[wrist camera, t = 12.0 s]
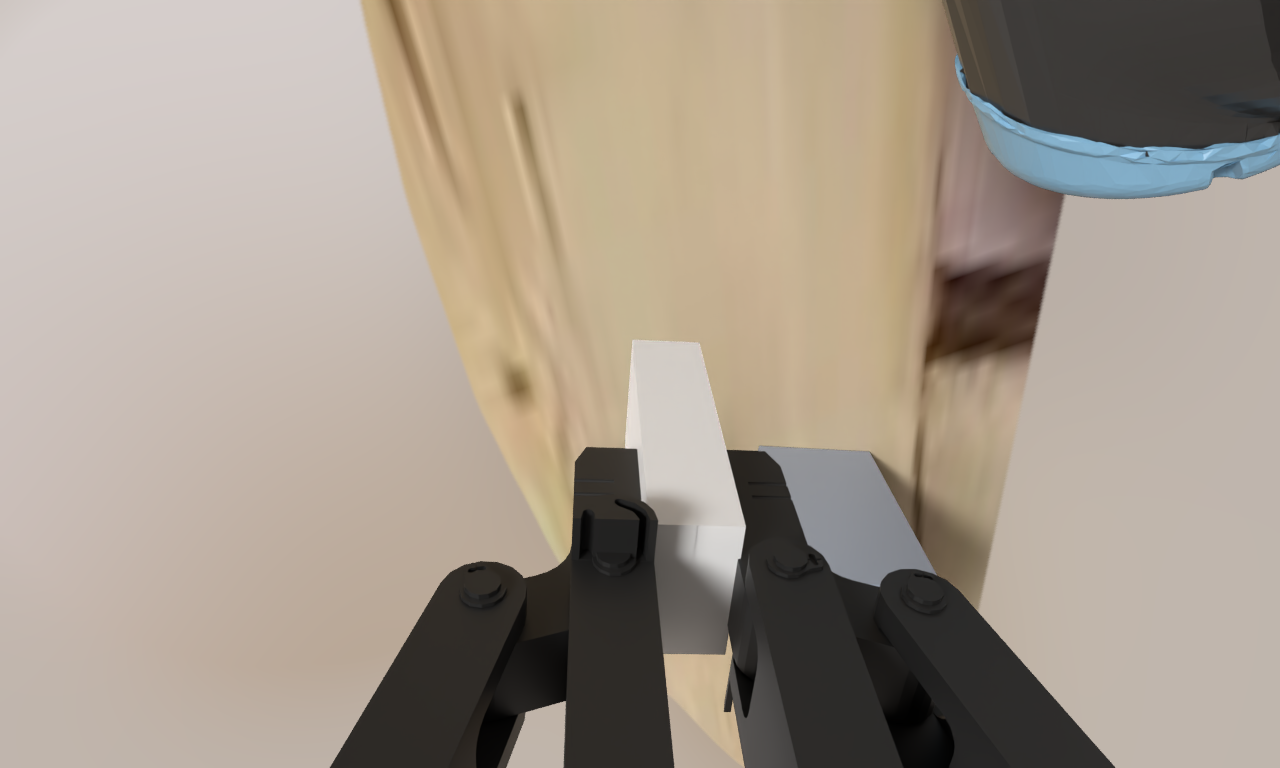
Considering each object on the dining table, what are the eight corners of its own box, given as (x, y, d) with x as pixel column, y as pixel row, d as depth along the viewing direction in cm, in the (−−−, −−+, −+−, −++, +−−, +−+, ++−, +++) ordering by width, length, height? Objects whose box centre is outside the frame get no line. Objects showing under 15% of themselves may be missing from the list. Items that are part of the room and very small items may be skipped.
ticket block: (759, 445, 58) (805, 583, 46) (869, 451, 59) (944, 588, 47) (733, 577, 64) (768, 731, 51) (834, 581, 65) (893, 734, 52)
